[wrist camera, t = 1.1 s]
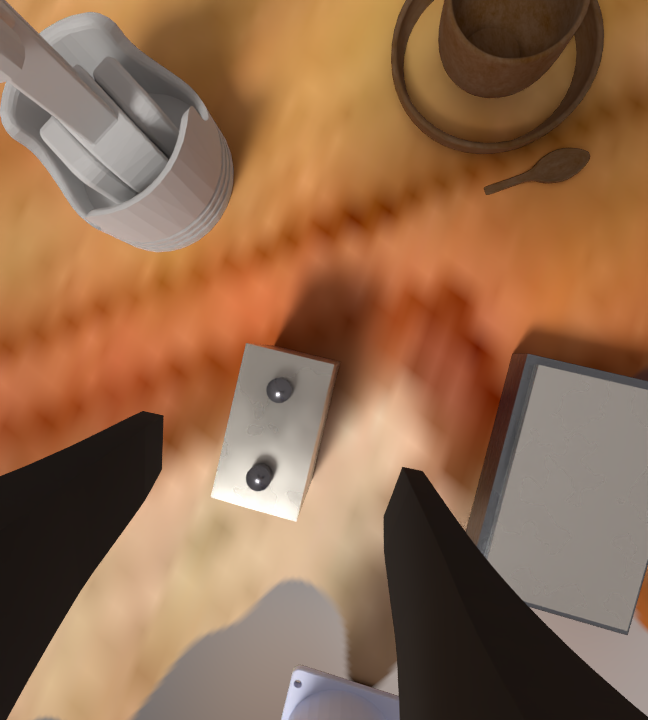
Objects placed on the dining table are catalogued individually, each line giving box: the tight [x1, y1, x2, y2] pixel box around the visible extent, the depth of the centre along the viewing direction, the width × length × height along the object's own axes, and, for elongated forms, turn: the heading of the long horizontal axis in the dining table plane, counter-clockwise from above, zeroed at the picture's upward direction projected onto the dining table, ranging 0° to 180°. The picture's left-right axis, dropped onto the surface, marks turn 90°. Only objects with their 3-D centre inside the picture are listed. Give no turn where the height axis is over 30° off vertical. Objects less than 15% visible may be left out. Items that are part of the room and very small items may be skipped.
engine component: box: [0, 0, 234, 252], centre depth 14 cm, size 11×20×10 cm
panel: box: [466, 354, 648, 635], centre depth 21 cm, size 14×9×2 cm, turn 167°
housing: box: [211, 343, 340, 521], centre depth 21 cm, size 8×4×7 cm, turn 167°
